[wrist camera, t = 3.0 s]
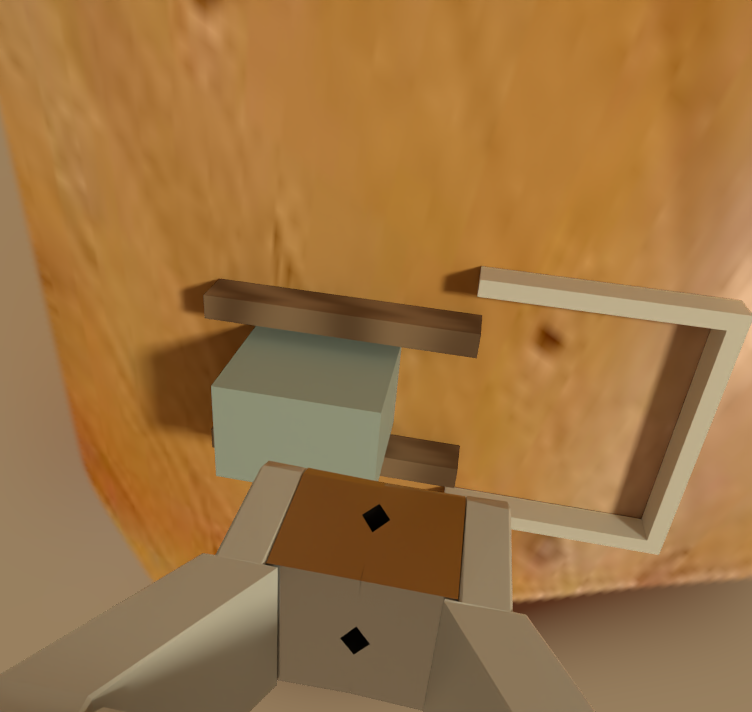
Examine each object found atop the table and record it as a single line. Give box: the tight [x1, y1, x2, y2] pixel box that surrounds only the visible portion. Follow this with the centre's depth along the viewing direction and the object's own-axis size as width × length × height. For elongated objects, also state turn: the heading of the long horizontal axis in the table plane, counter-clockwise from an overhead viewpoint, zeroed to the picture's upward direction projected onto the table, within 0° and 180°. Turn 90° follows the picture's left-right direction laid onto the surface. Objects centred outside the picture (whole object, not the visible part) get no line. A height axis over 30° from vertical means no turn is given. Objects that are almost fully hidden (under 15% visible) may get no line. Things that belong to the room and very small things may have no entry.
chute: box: [203, 279, 482, 488], centre depth 41 cm, size 16×11×2 cm
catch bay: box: [444, 266, 752, 555], centre depth 39 cm, size 14×17×2 cm
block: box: [211, 326, 401, 482], centre depth 39 cm, size 9×6×8 cm, turn 86°
